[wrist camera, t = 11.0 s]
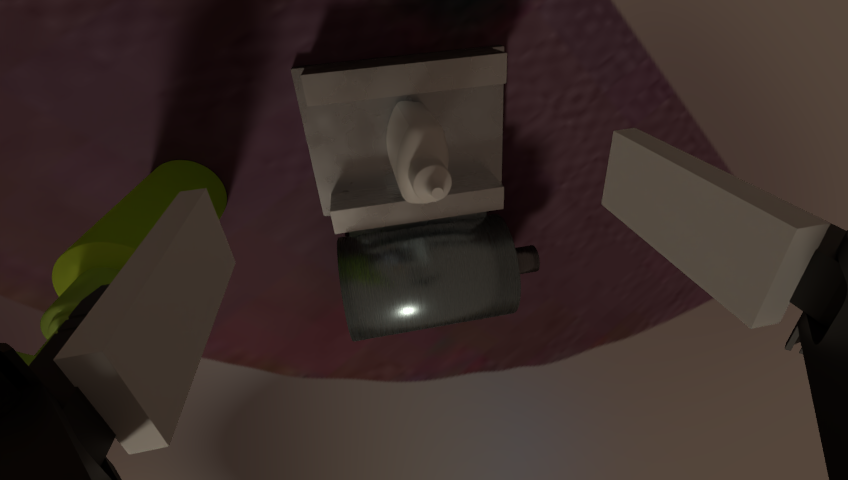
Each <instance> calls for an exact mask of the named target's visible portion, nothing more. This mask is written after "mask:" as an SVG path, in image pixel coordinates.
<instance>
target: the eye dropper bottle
mask: <svg viewBox="0 0 848 480" xmlns="http://www.w3.org/2000/svg"><path fill="white" fill-rule="evenodd" d="M386 144H387V152H388V156H389V160H390V163H391V166H392V169H393V172H394V175H395V178H396V181H397V184H398V187H399V189H400V192H401V194H402V196H403V198H404V199H405V200H406V201H407V202H409V203H416V204H426V203H431V202H436V201H439V200H441V199H443V198H444V197H445V196H446V195H447V194H448V192H450V189H451V186H452V177H451V174H450V172H449V171H448V163H449V154H448V146H447V141H446V137H445V133H444V131H443V128H442V127H441V125H440V124H439V123H438V121H437V120H436V119H435V118H434V116H433V115H432V114H431V113H430V111H429V110H428V109H427V108H426V107H425V106H424V104H423V103H420V102H414V101H400V102H398V103H397V104H396V105H395V107H394V109H393V111H392V114H391V116H390V119H389V123H388V127H387V134H386Z"/></svg>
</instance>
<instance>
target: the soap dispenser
mask: <svg viewBox="0 0 848 480" xmlns="http://www.w3.org/2000/svg"><path fill="white" fill-rule="evenodd" d="M203 188H207V191H208V194H209V196H210V199H211V201H212V204H213V206H214V209H215V211H216V214H217V217H218V219H220V217H221V215H222V214H223V212H224V210H225V208H226V204H227V194H226V190H225V187H224V185H223V183H222V182H221V180H220V179H219V178H218V176H217V175H216V174H215V173H214V172H212V171H211V170H210V169H208V168H207V167H205V166H203V165H201V164H199V163H196V162H193V161H188V160H173V161H169V162H166V163H163V164H162V165H160V166H158V167H157V168H156V169H155V170H154V171H153V172H152V173H151V174H149V175H148V176H147V177H146V178H145V179H144V180H143V181H142V182H141V183H140V184H139V185H137V186H136V187H135V188H134V189H133V190H132V191H131V192H130V193H129V194H128V195H126V196H125V197H124V198H123V199H122V200H121V201H120V202H119V203H118V204H117V205H116V206H114V207H113V208H112V209H111V210H110V211H109V212H108V213H107V214H106V215H105V216H104V217H102V218H101V219H100V220H99V221H98V222H97V223H96V224H95V225H94V226H93V227H92V228H90V229H89V230H88V231H87V232H86V233H85V234H84V235H83V236H82V237H81V238H80V239H78V240H77V241H76V242H75V243H74V244H73V245H72V246H71V247H70V248H69V249H68V250H66V251H65V252H64V253H63V254H62V255H61V256H60V257H59V258H58V260H57V261H56V263H55V265H54V268H53V272H52V281H53V286H54V288H55V291H56V293H57V295H58V296H59V298H58V299H57V300H56V301H55V302H54V303H53V304H52V305H51V306H50V307H49V308H48V309H47V310H46V312H45V313H44V314H43V316H42V318H41V321H40V326H41V330H42V333H43V335H44V336H45V338H46V339H47V341H46V342H45V344H44V345H43V346H42V347H41V348H40V350H38V352H37V353H36V354H35V355H34V356H33V355H29V354H24V353H20V352H17V353H18V355H19V356H20V357H21V358H22V359H23V360H24V362H25V363H26V364H27V365H28V366H29V365H30V364H31V362H32V361H33V360H34V359H35V357H36V356H37V355H38V354H39V352H40V351H41V350H42V349H43V347H44V346H45V345H46V344H47V342H48V341H49V340H50V339H51V338H52V336H53V335H54V334H56V333H58V331H57V330H58V329H59V328H60V326H61V325H62V324H63V323H64V321H65V320H68V319H69V317H68V316H69V315H70V314H71V313H72V311H73V310H74V309H75V308H76V306H77V305H78V304H79V303H80V301H81V300H83V299H84V298H85V297H87V296H88V295H89V294H91V293H92V292H93V291H95V290H96V289H97V288H99V287H100V286H101V285H106V284H111V282H112V281H113V280H114V278H115V277H116V276H117V274H118V273H119V272H120V270H121V269H122V268H123V266H124V265H125V264H126V262H127V261H128V260H129V258H130V257H131V256H132V254H133V253H134V252H135V250H136V249H137V248H138V246H139V245H140V244H141V242H142V241H143V240H144V238H145V237H146V236H147V234H148V233H149V232H150V230H151V229H152V228H153V227H154V225H155V224H156V223H157V221H158V220H159V219H160V217H161V216H162V215H163V213H164V212H165V211H166V209H167V208H168V207H169V205H170V204H171V203H172V201H173V200H174V199H175V197H176V196H177V195H178V193H179V192H181V191H188V190H195V189H203Z"/></svg>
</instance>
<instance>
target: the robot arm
mask: <svg viewBox="0 0 848 480" xmlns="http://www.w3.org/2000/svg"><path fill="white" fill-rule="evenodd" d="M602 205H603V206H604V207H606V208H607V209H608V210H609V211H610V212H611V213H613V214H614V215H615V216H616V217H617V218H619V219H620V220H621V221H622V222H623V223H625V224H626V225H627V226H628V227H629V228H631V229H632V230H633V231H634V232H635V233H637V234H638V235H639V236H640V237H641V238H643V239H644V240H645V241H646V242H647V243H649V244H650V245H651V246H652V247H653V248H655V249H656V250H657V251H658V252H659V253H661V254H662V255H663V256H664V257H665V258H667V259H668V260H669V261H670V262H671V263H673V264H674V265H675V266H676V267H677V268H679V269H680V270H681V271H682V272H683V273H684V274H686V275H687V276H688V277H689V278H690V279H692V280H693V281H694V282H695V283H696V284H698V285H699V286H700V287H701V288H702V289H704V290H705V291H706V292H707V293H708V294H710V295H711V296H712V297H713V298H714V299H716V300H717V301H718V302H719V303H720V304H722V305H723V306H724V307H725V308H726V309H728V310H729V311H730V312H731V313H733V314H734V315H735V316H736V317H737V318H738V319H740V320H741V321H742V322H743V323H744V324H746V325H747V326H748V327H749V328H750V329H753V328H757V327H763V326H767V325H772V324H777V323H780V321H781V319H782V317H783V315H784V314H785V312H786V310H787V308H788V306H789V304H790V302H791V303H792V304H794V305H795V306H797V307H798V308H799V309H801V310H802V311H803V313H802V315H801V317H800V319H799V320H798V322H797V324H796V326H795V328H794V329H793V331H792V333H791V335H790V337H789V339H788V341H787V342H786V346H785V349H786V350H791V349H792V347H793V345H794V344H796V343H799V342H801V346H802V348H801V350H800V352H799V353H801V354H803V355H804V360H805V365H806V369H807V375H808V380H809V384H810V389H811V394H812V399H813V404H814V408H815V413H816V418H817V423H818V428H819V432H820V437H821V442H822V447H823V452H824V457H825V462H826V467H827V472H828V476H829V480H848V230H847V231H845V230H843V229H841V228H839V227H837V226H835V225H833V224H831V223H829V222H827V221H826V220H823V219H821V218H819V217H817V216H815V215H813V214H811V213H809V212H807V211H805V210H803V209H801V208H799V207H797V206H794V205H793V204H791V203H788V202H786V201H784V200H782V199H780V198H778V197H776V196H774V195H772V194H770V193H768V192H766V191H764V190H762V189H760V188H758V187H755V186H753V185H751V184H749V183H747V182H745V181H743V180H741V179H739V178H737V177H735V176H733V175H731V174H729V173H727V172H725V171H723V170H721V169H719V168H716V167H714V166H712V165H710V164H708V163H706V162H704V161H702V160H700V159H698V158H696V157H694V156H692V155H690V154H688V153H686V152H684V151H682V150H679V149H677V148H675V147H673V146H671V145H669V144H667V143H665V142H663V141H661V140H659V139H657V138H655V137H653V136H651V135H649V134H647V133H644V132H642V131H640V130H638V129H636V128H631V129H624V130H617V131H614V133H613V139H612V145H611V151H610V156H609V162H608V168H607V174H606V180H605V186H604V192H603V198H602ZM235 263H236V262H235V260H234V257H233V255H232V252H231V250H230V247H229V245H228V242H227V240H226V237H225V234H224V232H223V229H222V227H221V224H220V222H219V219H218V217H217V214H216V211H215V209H214V206H213V204H212V201H211V199H210V196H209V194H208V191H207V188H203V189H195V190H188V191H181V192H179V193H178V195H177V196H176V197H175V199H174V200H173V201H172V203H171V204H170V205H169V207H168V208H167V209H166V211H165V212H164V213H163V215H162V216H161V217H160V219H159V220H158V221H157V223H156V224H155V225H154V227H153V228H152V229H151V230H150V232H149V233H148V234H147V236H146V237H145V238H144V240H143V241H142V242H141V244H140V245H139V246H138V248H137V249H136V250H135V252H134V253H133V254H132V256H131V257H130V258H129V260H128V261H127V262H126V264H125V265H124V266H123V268H122V269H121V270H120V272H119V273H118V274H117V276H116V277H115V278H114V280H113V281H112V282H111V284H106V285H101V286H100V287H99V288H97V289H96V290H95V291H93V292H92V293H91V294H89V295H88V296H87V297H85V298H84V299H83V300H81V301H80V303H79V304H78V305H77V306H76V308H75V309H74V310H73V311H72V313H71V314H70V315H69V316H68V317H69V319H68V320H65V321H64V323H63V324H62V325H61V326H60V328H59V329H58V330H57V331H58V333H56V334H54V335H53V336H52V338H51V339H50V340H49V341H48V342H47V344H46V345H45V346H44V347H43V349H42V350H41V351H40V352H39V354H38V355H37V356H36V357H35V359H34V360H33V361H32V362H31V364H30V365H29V366H28V365H27V364H26V363H25V362H24V360H23V359H22V358H21V357H20V356H19V355H18V353H17V352H16V351H15V350H14V349H13V348H12V347H11V346H9V345H8V344H6V343H0V480H121V478H120V476H119V474H118V473H117V471H116V469H115V467H114V466H113V464H112V463H111V462H110V461H109V460H108V459H107V457H106V455H107V453H108V451H109V449H110V447H111V445H112V443H113V440H114V438H116V439H117V440H118V441H119V443H120V444H121V445H122V446H123V448H124V449H125V450H126V451H127V453H128V454H134V453H139V452H144V451H149V450H154V449H159V448H164V447H169V445H170V442H171V439H172V437H173V434H174V431H175V428H176V425H177V423H178V420H179V417H180V414H181V412H182V409H183V406H184V403H185V400H186V398H187V395H188V392H189V390H190V387H191V384H192V381H193V379H194V376H195V373H196V370H197V368H198V365H199V362H200V359H201V357H202V354H203V351H204V348H205V346H206V343H207V340H208V337H209V334H210V332H211V329H212V326H213V323H214V321H215V318H216V315H217V312H218V310H219V307H220V304H221V301H222V299H223V296H224V293H225V290H226V288H227V285H228V282H229V279H230V276H231V274H232V271H233V268H234V265H235Z"/></svg>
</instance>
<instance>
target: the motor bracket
mask: <svg viewBox="0 0 848 480" xmlns="http://www.w3.org/2000/svg"><path fill="white" fill-rule="evenodd" d="M291 73H292V77H293V82H294V86H295V91H296V95H297V99H298V104H299V108H300V113H301V117H302V121H303V126H304V130H305V135H306V139H307V144H308V148H309V152H310V157H311V161H312V166H313V170H314V175H315V179H316V183H317V188H318V192H319V197H320V201H321V205H322V210H323V214H324V216H330V215H331V218H332V223H333V228H334V232H335V234H339V233H345V232H349V235H350V236H345V237H339V238H338V241H337V256H338V268H339V277H340V285H341V292H342V298H343V304H344V310H345V315H346V320H347V324H348V329H349V332H350V335H351V338H352V340H353V341H359V340H365V339H370V338H376V337H382V336H387V335H393V334H399V333H404V332H410V331H416V330H421V329H427V328H433V327H438V326H444V325H450V324H455V323H461V322H467V321H472V320H478V319H484V318H489V317H495V316H501V315H506V314H512V313H515V312H516V311H517V309H518V306H519V302H520V294H521V284H520V274H524V273H530V272H536V271H538V270H539V266H540V262H539V255H538V252H537V250H536V248H535V247H534V246H533V245H530V246H524V247H518V248H515V246H514V242H513V239H512V236H511V234H510V231H509V229H508V227H507V225H506V223H505V221H504V220H503V218H502V217H501V216H500V215H498V214H492V215H487V211H493V210H500V209H504V186H503V185H502V139H503V86H504V84H505V83H506V76H507V53H506V52H504V46H502V45H496V46H486V47H477V48H468V49H458V50H449V51H439V52H430V53H421V54H411V55H402V56H393V57H383V58H374V59H365V60H355V61H346V62H336V63H327V64H318V65H308V66H299V67H292V68H291ZM400 101H414V102H420V103H423V104H424V106H425V107H426V108H427V109H428V110H429V111H430V113H431V114H432V115H433V116H434V118H435V119H436V120H437V121H438V123H439V124H440V125H441V127H442V128H443V131H444V133H445V137H446V141H447V146H448V154H449V163H448V171H449V172H450V174H451V177H452V186H451V189H450V192H448V194H447V195H446V196H445V197H444V198H443V199H441V200H439V201H436V202H431V203H426V204H416V203H409V202H407V201H406V200H405V199H404V198H403V196H402V194H401V192H400V189H399V187H398V184H397V181H396V178H395V175H394V172H393V169H392V166H391V163H390V160H389V156H388V152H387V144H386V134H387V127H388V123H389V119H390V116H391V114H392V111H393V109H394V107H395V105H396V104H397V103H398V102H400Z"/></svg>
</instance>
